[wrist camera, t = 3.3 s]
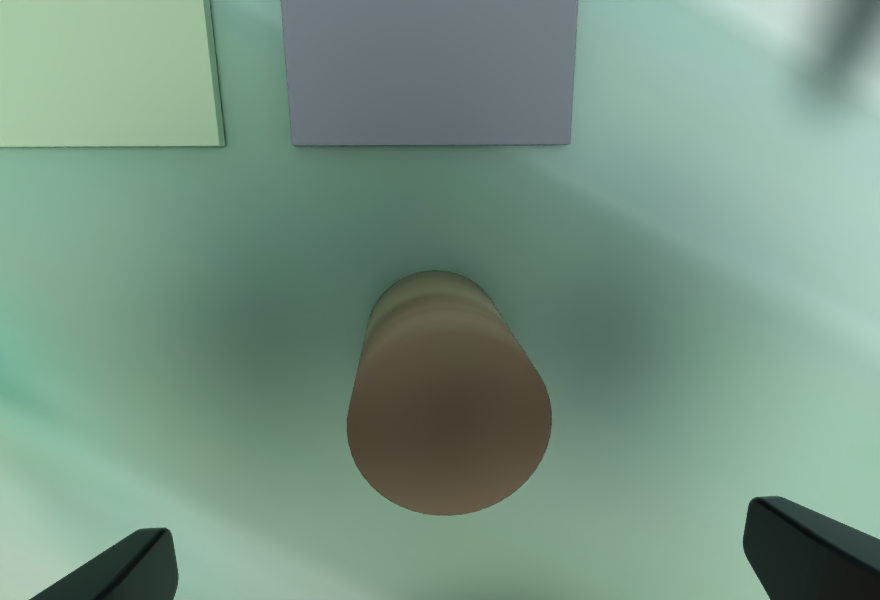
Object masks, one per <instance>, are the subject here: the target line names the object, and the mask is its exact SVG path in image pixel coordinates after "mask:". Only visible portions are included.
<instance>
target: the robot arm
mask: <svg viewBox="0 0 880 600" xmlns="http://www.w3.org/2000/svg"><path fill="white" fill-rule="evenodd" d="M743 548H744V552H745V555H746V557H747V559H748V561H749V563H750V564H751V566H752V568H753V570H754V571H755V573H756V575H757V577H758V578H759V580H760V582H761V584H762V585H763V587H764V589H765V591H766V592H767V594H768V596H769V598H770V599H771V600H880V539H877V538H875V537H873V536H870V535H868V534H866V533H863V532H861V531H859V530H857V529H854V528H852V527H850V526H847V525H845V524H843V523H840V522H838V521H836V520H834V519H831V518H829V517H827V516H824V515H822V514H820V513H817V512H815V511H813V510H810V509H808V508H806V507H804V506H801V505H799V504H797V503H794V502H792V501H790V500H787V499H785V498H783V497H779V496H767V497H755V498H753V499H752V500H751V501H750V503H749V506H748V511H747V517H746V524H745V530H744V536H743ZM177 585H178V568H177V562H176V556H175V549H174V543H173V537H172V534H171V532H170V530H169V529H167V528H144V529H139V530H137V531H135V532H133V533H132V534H130V535H129V536H127V537H126V538H124V539H123V540H121V541H119V542H118V543H116V544H115V545H113V546H112V547H110V548H109V549H107V550H106V551H104V552H102V553H101V554H99V555H98V556H96V557H95V558H93V559H92V560H90V561H88V562H87V563H85V564H84V565H82V566H81V567H79V568H78V569H76V570H74V571H73V572H71V573H70V574H68V575H67V576H65V577H64V578H62V579H60V580H59V581H57V582H56V583H54V584H53V585H51V586H50V587H48V588H47V589H45V590H43V591H42V592H40V593H39V594H37V595H36V596H34V597H33V598H31V599H29V600H173V599H174V596H175V593H176V590H177Z"/></svg>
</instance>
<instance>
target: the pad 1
mask: <svg viewBox="0 0 880 600" xmlns="http://www.w3.org/2000/svg"><path fill="white" fill-rule="evenodd" d="M178 146H225V137H224V128H223V119H222V110H221V101H220V92H219V82H218V73H217V64H216V55H215V46H214V37H213V28H212V19H211V9H210V0H0V147H178Z"/></svg>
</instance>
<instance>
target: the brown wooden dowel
mask: <svg viewBox="0 0 880 600" xmlns="http://www.w3.org/2000/svg"><path fill="white" fill-rule="evenodd" d="M551 425H552V411H551V405H550V399H549V396H548V393H547V390H546V387H545V385H544V383H543V381H542V379H541V377H540V375H539V374H538V372H537V370H536V369H535V367H534V366H533V364H532V363H531V361H530V360H529V358H528V357H527V355H526V353H525V352H524V350H523V349H522V347H521V346H520V344H519V343H518V341H517V339H516V338H515V336H514V335H513V333H512V332H511V330H510V329H509V327H508V326H507V324H506V322H505V321H504V319H503V318H502V316H501V315H500V313H499V312H498V310H497V309H496V307H495V305H494V304H493V302H492V301H491V299H490V298H489V296H488V295H487V294H486V293H485V292H484V291H483V290H482V289H481V288H480V287H479V286H478V285H477V284H475V283H474V282H472V281H471V280H469V279H467V278H465V277H463V276H461V275H458V274H454V273H451V272H445V271H425V272H420V273H416V274H413V275H410V276H407V277H405V278H403V279H401V280H399V281H398V282H396V283H395V284H393V285H392V286H391V287H390V288H389V289H388V290H386V291H385V292H384V294H383V295H382V296H381V297H380V298H379V300H378V301H377V303H376V304H375V306H374V308H373V310H372V313H371V315H370V319H369V322H368V326H367V331H366V335H365V339H364V344H363V348H362V352H361V357H360V361H359V366H358V370H357V374H356V379H355V383H354V387H353V392H352V396H351V401H350V405H349V410H348V417H347V436H348V443H349V447H350V450H351V454H352V457H353V459H354V461H355V463H356V466H357V467H358V469H359V471H360V472H361V474H362V475H363V477H364V478H365V479H366V480H367V481H368V483H369V484H370V485H371V486H372V487H373V488H374V489H375V490H376V491H377V492H379V493H380V494H381V495H382V496H384V497H385V498H387V499H388V500H390V501H391V502H393V503H395V504H397V505H399V506H401V507H404V508H406V509H409V510H412V511H415V512H419V513H423V514H430V515H441V516H451V515H461V514H467V513H471V512H476V511H479V510H481V509H484V508H487V507H490V506H492V505H494V504H496V503H498V502H500V501H502V500H503V499H505V498H506V497H508V496H510V495H511V494H512V493H513V492H515V491H516V490H517V489H518V488H520V487H521V486H522V485H523V484H524V483H525V482H526V481H527V480H528V479H529V477H530V476H531V475H532V473H533V472H534V471H535V470H536V468H537V466H538V465H539V463H540V461H541V460H542V458H543V455H544V453H545V451H546V448H547V445H548V442H549V438H550V433H551Z"/></svg>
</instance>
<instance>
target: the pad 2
mask: <svg viewBox="0 0 880 600" xmlns="http://www.w3.org/2000/svg"><path fill="white" fill-rule="evenodd" d="M281 8H282V21H283V34H284V47H285V60H286V73H287V86H288V98H289V111H290V124H291V137H292V145H293V146H399V145H567V144H570V139H571V121H572V103H573V85H574V67H575V49H576V32H577V14H578V0H281Z"/></svg>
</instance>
